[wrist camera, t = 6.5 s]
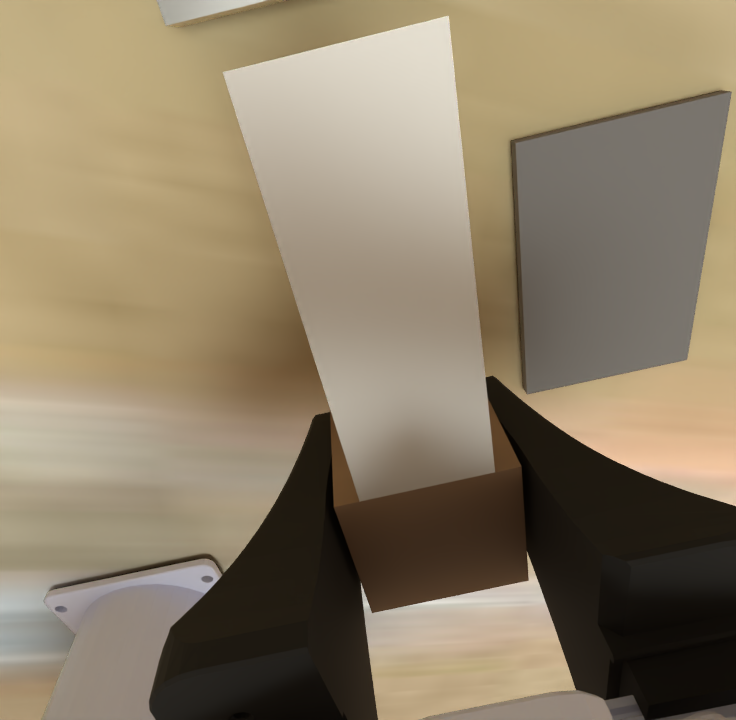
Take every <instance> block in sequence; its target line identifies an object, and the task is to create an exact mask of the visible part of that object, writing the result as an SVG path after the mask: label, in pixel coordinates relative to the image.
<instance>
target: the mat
mask: <svg viewBox="0 0 736 720" xmlns="http://www.w3.org/2000/svg"><path fill="white" fill-rule="evenodd" d="M731 93H732V92H730V91H718V92H714V93H709V94H705V95H701V96H697V97H693V98H688V99H684V100H680V101H676V102H672V103H667V104H663V105H659V106H655V107H651V108H646V109H642V110H638V111H634V112H630V113H625V114H621V115H617V116H613V117H609V118H604V119H600V120H596V121H592V122H588V123H583V124H579V125H575V126H571V127H567V128H562V129H558V130H554V131H550V132H546V133H541V134H537V135H533V136H529V137H525V138H520V139H516V140H512V141H511V148H512V168H513V188H514V209H515V229H516V249H517V269H518V290H519V310H520V330H521V351H522V371H523V388H524V390H525V392H526V394H531V393H536V392H540V391H545V390H550V389H554V388H559V387H564V386H568V385H573V384H577V383H582V382H587V381H591V380H596V379H601V378H605V377H610V376H614V375H619V374H624V373H628V372H633V371H638V370H642V369H647V368H651V367H656V366H661V365H665V364H670V363H674V362H679V361H684V360H687V357H688V351H689V345H690V339H691V333H692V327H693V321H694V315H695V309H696V303H697V297H698V291H699V285H700V279H701V273H702V267H703V261H704V255H705V249H706V243H707V237H708V231H709V225H710V219H711V213H712V207H713V201H714V195H715V189H716V183H717V177H718V171H719V165H720V159H721V153H722V147H723V141H724V135H725V129H726V123H727V117H728V111H729V105H730V99H731Z"/></svg>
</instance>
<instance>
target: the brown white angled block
mask: <svg viewBox="0 0 736 720" xmlns="http://www.w3.org/2000/svg"><path fill="white" fill-rule="evenodd" d="M223 75H224V78H225V81H226V84H227V88H228V91H229V94H230V97H231V100H232V103H233V106H234V109H235V113H236V116H237V119H238V122H239V125H240V128H241V131H242V135H243V138H244V141H245V144H246V147H247V150H248V153H249V156H250V160H251V163H252V166H253V169H254V172H255V175H256V178H257V182H258V185H259V188H260V191H261V194H262V197H263V200H264V203H265V207H266V210H267V213H268V216H269V219H270V222H271V225H272V229H273V232H274V235H275V238H276V241H277V244H278V247H279V250H280V254H281V257H282V260H283V263H284V266H285V269H286V272H287V276H288V279H289V282H290V285H291V288H292V291H293V294H294V297H295V301H296V304H297V307H298V310H299V313H300V316H301V319H302V323H303V326H304V329H305V332H306V335H307V338H308V341H309V345H310V348H311V351H312V354H313V357H314V360H315V363H316V366H317V370H318V373H319V376H320V379H321V382H322V385H323V388H324V392H325V395H326V398H327V401H328V404H329V407H330V421H331V447H332V472H333V498H334V509H335V512H336V514H337V517H338V520H339V523H340V525H341V528H342V531H343V534H344V536H345V539H346V542H347V545H348V548H349V550H350V553H351V556H352V559H353V561H354V564H355V567H356V570H357V572H358V575H359V578H360V581H361V583H362V586H363V589H364V592H365V594H366V597H367V600H368V603H369V605H370V608H371V611H372V613H374V612H379V611H384V610H389V609H393V608H398V607H403V606H408V605H413V604H417V603H422V602H427V601H432V600H437V599H442V598H446V597H451V596H456V595H461V594H466V593H470V592H475V591H480V590H485V589H490V588H494V587H499V586H504V585H509V584H514V583H518V582H523V581H528V563H527V547H526V531H525V515H524V499H523V483H522V467H521V465H520V463H519V460H518V458H517V456H516V454H515V452H514V450H513V448H512V446H511V444H510V442H509V440H508V438H507V436H506V434H505V432H504V430H503V428H502V426H501V424H500V422H499V420H498V418H497V416H496V414H495V412H494V410H493V408H492V406H491V404H490V401H489V399H488V397H487V388H486V378H485V368H484V358H483V349H482V339H481V329H480V319H479V309H478V300H477V290H476V280H475V270H474V260H473V251H472V241H471V231H470V221H469V211H468V202H467V192H466V182H465V172H464V162H463V153H462V143H461V133H460V123H459V113H458V104H457V94H456V84H455V74H454V64H453V55H452V45H451V35H450V25H449V16H445V17H441V18H437V19H433V20H429V21H425V22H421V23H417V24H413V25H409V26H405V27H401V28H397V29H393V30H389V31H385V32H381V33H377V34H373V35H369V36H365V37H361V38H357V39H353V40H349V41H345V42H341V43H337V44H333V45H329V46H325V47H321V48H317V49H313V50H309V51H305V52H301V53H297V54H293V55H289V56H285V57H281V58H277V59H273V60H269V61H265V62H261V63H257V64H253V65H249V66H246V67H242V68H238V69H234V70H230V71H226V72H223Z"/></svg>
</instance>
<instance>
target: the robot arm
mask: <svg viewBox="0 0 736 720" xmlns="http://www.w3.org/2000/svg"><path fill="white" fill-rule="evenodd" d="M485 378H486V388H487V397H488V399H489V401H490V404H491V406H492V408H493V410H494V412H495V414H496V416H497V418H498V420H499V422H500V424H501V426H502V428H503V430H504V432H505V434H506V436H507V438H508V440H509V442H510V444H511V446H512V448H513V450H514V452H515V454H516V456H517V458H518V460H519V463H520V465H521V467H522V483H523V499H524V515H525V531H526V547H527V552H528V555H529V557H530V560H531V563H532V566H533V568H534V571H535V574H536V576H537V579H538V582H539V584H540V587H541V590H542V593H543V595H544V598H545V601H546V604H547V607H548V609H549V612H550V615H551V618H552V621H553V623H554V626H555V629H556V632H557V635H558V638H559V641H560V644H561V647H562V650H563V652H564V655H565V658H566V661H567V664H568V667H569V670H570V673H571V676H572V679H573V682H574V685H575V688H576V690H573V691H559V692H550V693H545V694H540V695H535V696H530V697H524V698H519V699H514V700H509V701H504V702H499V703H494V704H489V705H484V706H479V707H474V708H469V709H464V710H459V711H454V712H449V713H444V714H439V715H434V716H429V717H426V718H423V719H420V720H736V506H733V505H730V504H727V503H723V502H720V501H717V500H713V499H710V498H707V497H704V496H700V495H697V494H694V493H691V492H688V491H685V490H682V489H680V488H677V487H674V486H672V485H669V484H666V483H664V482H661V481H658V480H656V479H653V478H651V477H649V476H646V475H644V474H641V473H639V472H637V471H635V470H633V469H631V468H628V467H626V466H624V465H622V464H620V463H617V462H615V461H613V460H611V459H609V458H607V457H605V456H604V455H602V454H600V453H598V452H596V451H594V450H593V449H591V448H589V447H587V446H586V445H584V444H582V443H581V442H579V441H577V440H576V439H574V438H573V437H571V436H570V435H568V434H567V433H565V432H564V431H562V430H561V429H559V428H558V427H556V426H555V425H553V424H552V423H551V422H549V421H548V420H546V419H545V418H544V417H542V416H541V415H540V414H538V413H537V412H536V411H534V410H533V409H532V408H531V407H529V406H528V405H527V404H526V403H524V402H523V401H522V400H521V399H520V398H518V397H517V396H516V395H515V394H514V393H512V392H511V391H510V390H509V389H508V388H507V387H506V386H504V385H503V384H502V383H501V382H500V381H499V380H498V379H497V378H495V377H494V376H490V377H485ZM44 603H45V605H46V606H47V607H48V608H49V609H50V610H51V611H52V612H53V613H54V614H55V615H56V616H57V617H58V618H59V619H60V620H61V621H62V622H63V623H64V624H65V625H66V626H67V627H68V628H69V629H70V630H71V631H72V632H73V633H74V634H75V635H76V636H75V639H74V641H73V643H72V646H71V648H70V651H69V653H68V656H67V658H66V661H65V663H64V665H63V668H62V670H61V673H60V675H59V678H58V680H57V683H56V685H55V687H54V690H53V692H52V695H51V697H50V700H49V702H48V705H47V707H46V709H45V712H44V714H43V717H42V719H41V720H378V717H377V710H376V703H375V695H374V688H373V681H372V673H371V666H370V658H369V650H368V642H367V635H366V627H365V618H364V610H363V601H362V592H361V581H360V578H359V575H358V572H357V570H356V567H355V564H354V561H353V559H352V556H351V553H350V550H349V548H348V545H347V542H346V539H345V536H344V534H343V531H342V528H341V525H340V523H339V520H338V517H337V514H336V512H335V509H334V498H333V472H332V447H331V421H330V412H328V413H324V414H319V415H315V417H314V418H313V420H312V423H311V426H310V429H309V431H308V434H307V437H306V439H305V442H304V444H303V447H302V449H301V452H300V454H299V456H298V458H297V461H296V463H295V465H294V467H293V470H292V472H291V474H290V476H289V478H288V480H287V482H286V484H285V485H284V487H283V489H282V491H281V493H280V495H279V497H278V499H277V500H276V502H275V504H274V505H273V507H272V509H271V511H270V512H269V514H268V515H267V517H266V518H265V520H264V522H263V523H262V525H261V526H260V528H259V529H258V531H257V532H256V533H255V535H254V536H253V537H252V539H251V540H250V542H249V543H248V544H247V546H246V547H245V549H244V550H243V551H242V552H241V554H240V555H239V556H238V558H237V559H236V560H235V561H234V562H233V564H232V565H231V566H230V567H229V568H228V569H227V571H226V572H225V573H224V574H223V575H222V574H221V572H220V571H219V569H218V567H217V566H216V564H215V563H214V562H213V561H212V560H209V559H198V560H193V561H188V562H184V563H179V564H174V565H169V566H164V567H160V568H155V569H150V570H145V571H140V572H136V573H131V574H126V575H121V576H116V577H112V578H107V579H102V580H97V581H92V582H88V583H83V584H78V585H73V586H68V587H63V588H59V589H54V590H51V591H49V592H48V593H47V595H46V597H45V599H44Z"/></svg>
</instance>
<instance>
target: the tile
mask: <svg viewBox="0 0 736 720" xmlns="http://www.w3.org/2000/svg"><path fill="white" fill-rule="evenodd" d="M284 1H288V0H157V2H158V5H159V8H160V11H161V14H162V17H163V19H164V22H165V25H166V26H174V27H184V26H188V25H192V24H196V23H200V22H204V21H208V20H212V19H216V18H220V17H224V16H228V15H232V14H236V13H240V12H244V11H248V10H252V9H256V8H260V7H264V6H268V5H272V4H276V3H280V2H284Z"/></svg>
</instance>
